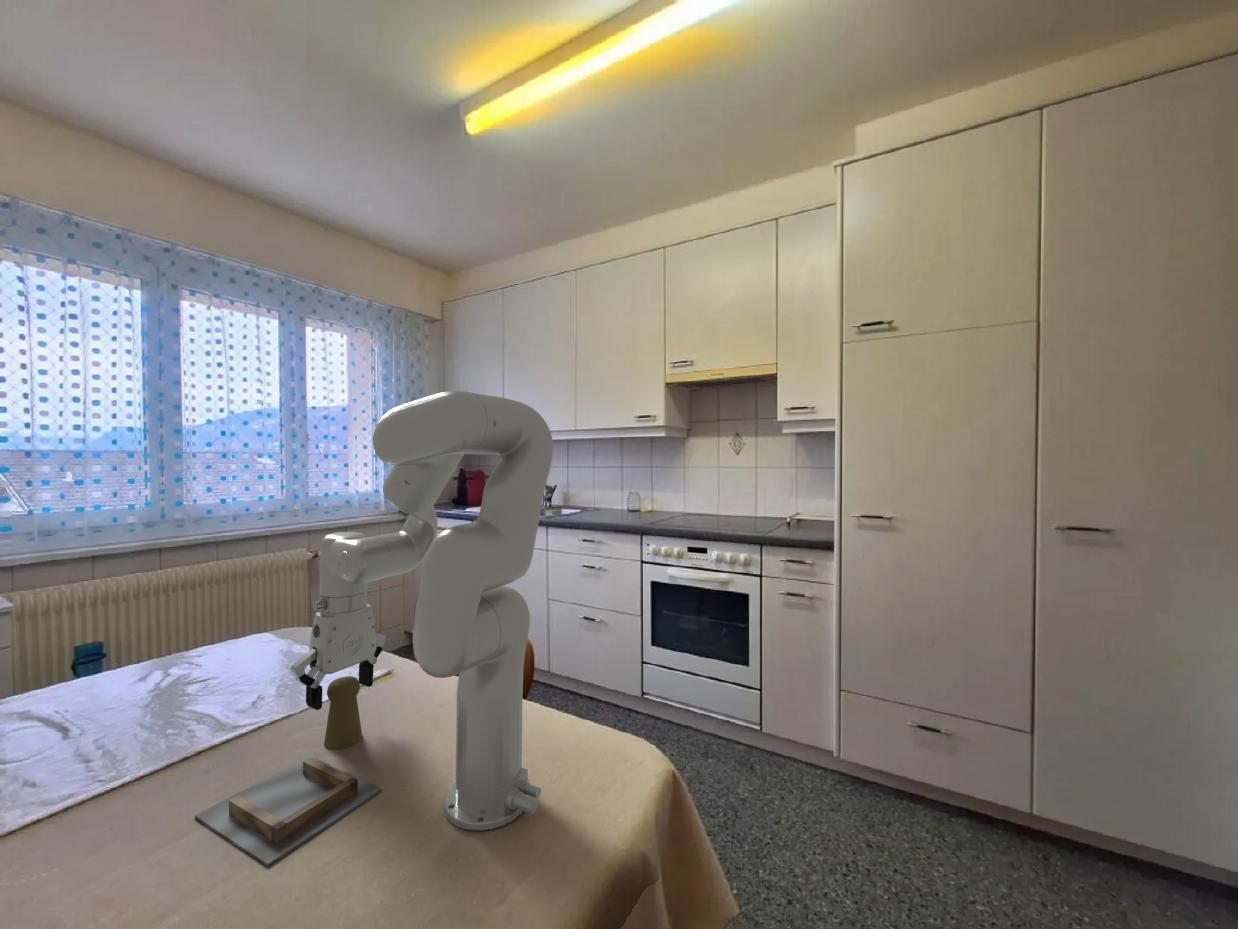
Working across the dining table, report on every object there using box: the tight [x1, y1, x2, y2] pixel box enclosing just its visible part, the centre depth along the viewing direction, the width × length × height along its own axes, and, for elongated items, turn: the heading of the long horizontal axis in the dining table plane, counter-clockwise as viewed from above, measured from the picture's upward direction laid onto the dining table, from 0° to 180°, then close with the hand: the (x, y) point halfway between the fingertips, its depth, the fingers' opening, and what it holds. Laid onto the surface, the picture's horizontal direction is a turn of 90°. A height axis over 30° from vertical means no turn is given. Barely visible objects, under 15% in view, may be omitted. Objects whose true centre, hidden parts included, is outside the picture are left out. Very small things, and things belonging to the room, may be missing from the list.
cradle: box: [194, 755, 382, 868], centre depth 73 cm, size 18×16×2 cm
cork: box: [323, 676, 363, 751], centre depth 89 cm, size 6×6×11 cm
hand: (341, 695), depth 89 cm, fingers open, 9 cm apart
